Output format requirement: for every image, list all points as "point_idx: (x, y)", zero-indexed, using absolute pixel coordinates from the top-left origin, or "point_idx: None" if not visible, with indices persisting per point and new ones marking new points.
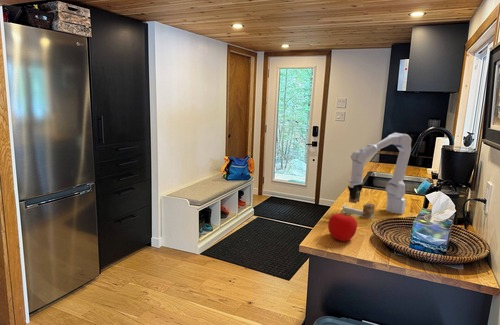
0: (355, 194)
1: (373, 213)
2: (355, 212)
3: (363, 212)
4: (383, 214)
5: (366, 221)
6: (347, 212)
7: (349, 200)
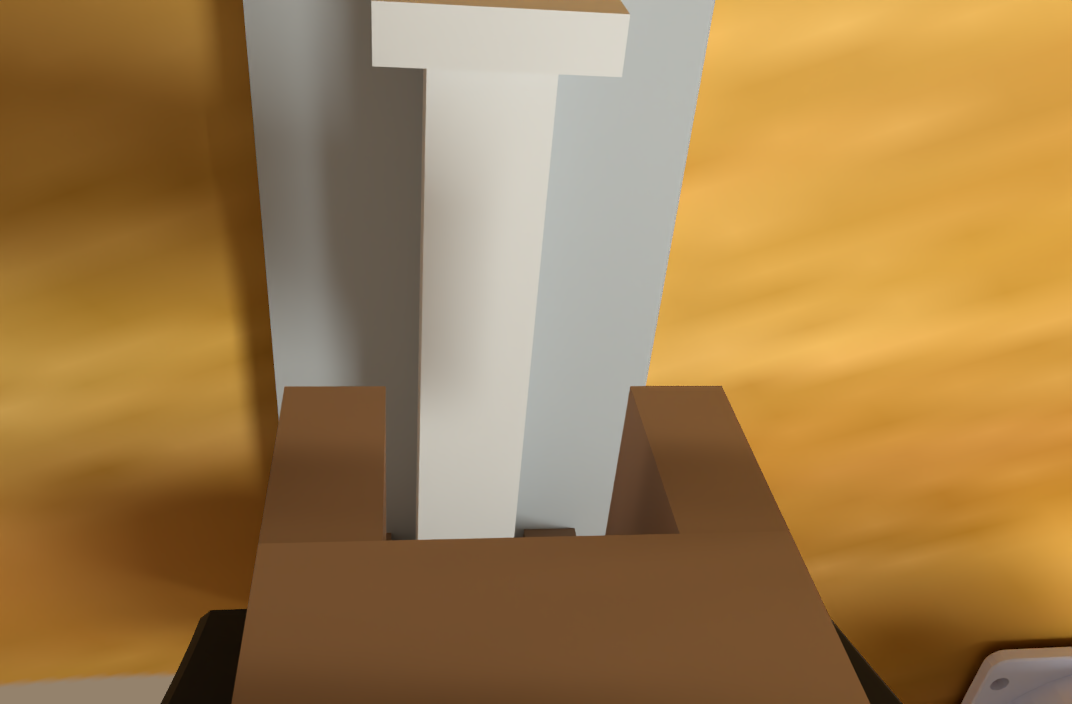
0: None
1: None
2: (419, 368)
3: None
4: None
5: (146, 625)
6: (314, 160)
7: (274, 466)
